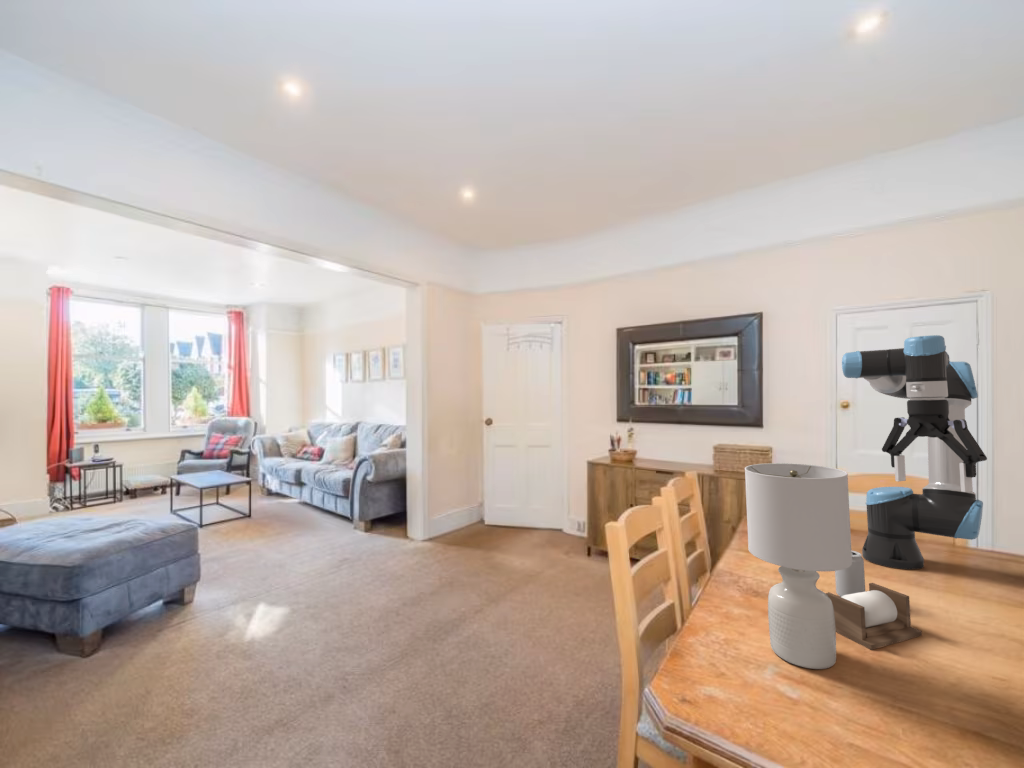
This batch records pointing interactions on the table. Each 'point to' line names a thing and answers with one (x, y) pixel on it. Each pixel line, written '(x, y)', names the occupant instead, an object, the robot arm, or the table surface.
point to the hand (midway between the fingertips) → (931, 485)
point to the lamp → (800, 552)
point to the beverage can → (851, 577)
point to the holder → (873, 637)
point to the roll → (874, 607)
